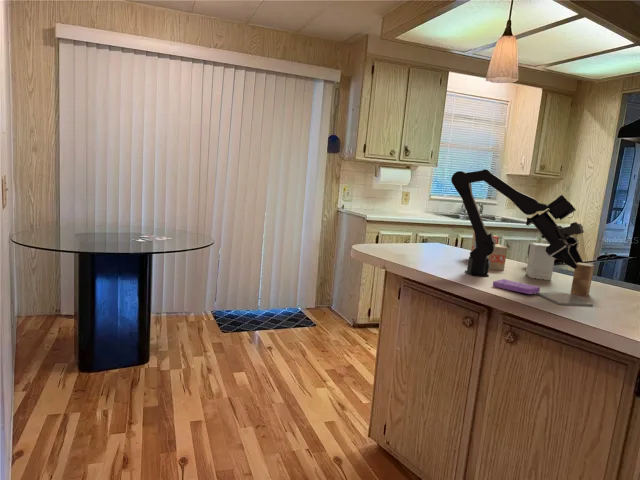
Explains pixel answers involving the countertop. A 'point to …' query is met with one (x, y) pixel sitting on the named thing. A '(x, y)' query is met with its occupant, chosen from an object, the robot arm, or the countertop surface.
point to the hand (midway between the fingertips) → (579, 266)
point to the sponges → (516, 286)
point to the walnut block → (582, 279)
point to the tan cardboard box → (494, 254)
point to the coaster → (564, 299)
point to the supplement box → (539, 262)
